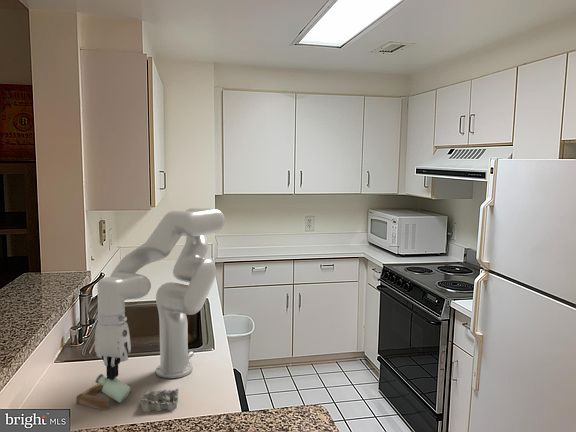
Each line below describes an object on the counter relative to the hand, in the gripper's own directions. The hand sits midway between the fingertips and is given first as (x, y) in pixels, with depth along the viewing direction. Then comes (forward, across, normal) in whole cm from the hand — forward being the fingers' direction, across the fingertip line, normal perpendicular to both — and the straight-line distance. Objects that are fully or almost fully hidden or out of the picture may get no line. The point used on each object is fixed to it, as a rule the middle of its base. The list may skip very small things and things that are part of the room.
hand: (112, 377), depth 138 cm
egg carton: (+8, -15, -3) cm, 17 cm away
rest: (+8, +4, -1) cm, 8 cm away
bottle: (+5, -4, -1) cm, 7 cm away
